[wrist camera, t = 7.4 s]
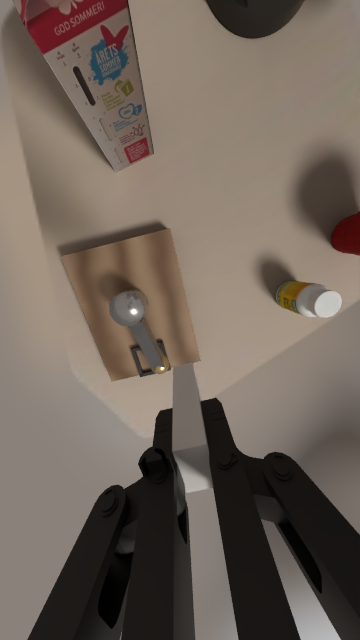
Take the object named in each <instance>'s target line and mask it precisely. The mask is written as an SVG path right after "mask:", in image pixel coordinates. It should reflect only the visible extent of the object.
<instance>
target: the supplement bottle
mask: <svg viewBox="0 0 360 640" xmlns="http://www.w3.org/2000/svg"><path fill="white" fill-rule="evenodd" d="M276 301H277V303H278V304H279V305H280V306H281V307H283V308H285V309H288V310H290V311H293V312H295V313H298V314H301V315H303V316H306V317H316V316H319V317H322V318H327V317H330V316H332V315H334V314H335V313H336V312H337V311H338V310H339V308H340V306H341V303H342V300H341V296H340V295H339V294H338V293H337V292H335V291H332V290H329V289H328V288H327V287H326V286H324V285H321V284H315V283H305V282H297V281H289V282H286V283H284V284H282V285H281V286H280V287H279V289H278V290H277V293H276Z"/></svg>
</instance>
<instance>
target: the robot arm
mask: <svg viewBox="0 0 360 640" xmlns="http://www.w3.org/2000/svg"><path fill="white" fill-rule="evenodd" d="M207 1H208V3H209V5H210V7H211V9H212V11H213V12H214V14H215V15H216V17H217V18H218V19H219V21H220V22H221V23H222V24H223V25H224V26H225V27H226V28H228V29H229V30H230V31H232V32H233V33H235V34H237V35H240V36H243V37H247V38H261V37H265V36H268V35H271V34H273V33H275V32H276V31H278V30H279V29H281V28H282V27H283V26H285V25H286V24H287V23H288V22H289V21H290V20H291V19H292V18H293V16H294V15H295V14H296V13H297V11H298V10H299V8H300V7H301V5H302V3H303V2H304V0H207ZM138 465H139V467H140V469H141V472H142V474H143V477H142V478H141V479H140V480H138V481H137V482H136V483H134V484H132V485H130V486H129V487H127V488H125V489H123V487H122V486H120V485H113V486H111V487H109V488H107V489H106V490H105V491H104V492H103V493H102V494H101V495H100V496H99V498H98V499H97V501H96V503H95V505H94V507H93V509H92V511H91V512H90V515H89V517H88V519H87V521H86V523H85V525H84V527H83V529H82V531H81V533H80V535H79V537H78V539H77V541H76V543H75V545H74V547H73V549H72V551H71V553H70V555H69V557H68V559H67V561H66V563H65V565H64V567H63V569H62V571H61V573H60V575H59V577H58V579H57V581H56V583H55V585H54V587H53V589H52V591H51V593H50V595H49V597H48V599H47V601H46V603H45V605H44V607H43V610H42V611H41V613H40V615H39V618H38V620H37V622H36V623H35V626H34V627H33V629H32V632H31V634H30V636H29V638H28V640H119V639H120V636H121V632H122V637H121V640H195V628H194V610H193V591H192V573H191V555H190V538H189V537H190V536H189V518H188V507H187V503H186V500H185V489H186V492H187V493H188V492H193V491H198V490H204V489H209V488H213V489H214V495H215V501H216V507H217V513H218V518H219V525H220V531H221V536H222V543H223V549H224V554H225V560H226V567H227V573H228V578H229V584H230V591H231V597H232V603H233V608H234V614H235V621H236V627H237V632H238V639H239V640H301V639H300V636H299V633H298V631H297V627H296V624H295V621H294V618H293V615H292V613H291V609H290V606H289V603H288V600H287V597H286V595H285V591H284V588H283V585H282V582H281V579H280V576H279V573H278V570H277V567H276V564H275V561H274V558H273V555H272V552H271V549H270V546H269V543H268V540H267V537H266V534H265V531H264V528H263V525H262V522H261V519H263V520H267V521H271V522H274V524H275V526H276V527H277V529H278V531H279V533H280V534H281V536H282V538H283V539H284V541H285V543H286V545H287V546H288V548H289V550H290V551H291V553H292V555H293V556H294V559H295V560H296V562H297V564H298V566H299V567H300V569H301V571H302V572H303V574H304V576H305V578H306V579H307V581H308V583H309V585H310V586H311V588H312V590H313V592H314V593H315V595H316V597H317V598H318V600H319V602H320V604H321V605H322V607H323V609H324V611H325V612H326V614H327V616H328V618H329V619H330V621H331V623H332V625H333V626H334V628H335V630H336V631H337V633H338V635H339V637H340V639H341V640H360V535H359V534H358V533H357V531H356V530H355V529H354V528H353V527H352V526H351V525H350V524H349V522H348V521H347V520H346V519H345V518H344V517H343V515H342V514H341V513H340V512H339V511H338V510H337V509H336V507H335V506H334V505H333V504H332V503H331V502H330V501H329V499H328V498H327V497H326V496H325V495H324V494H323V493H322V491H321V490H320V489H319V488H318V487H317V486H316V485H315V484H314V482H313V481H312V480H311V479H310V478H309V477H308V475H307V474H306V473H305V472H304V471H303V470H302V469H301V467H300V466H299V465H298V464H297V463H296V462H295V461H294V460H293V459H292V458H291V457H289V456H287V455H285V454H283V453H279V452H273V453H269V454H268V455H266V456H265V457H264V459H259V458H253V457H249V456H247V455H245V454H243V453H242V452H240V451H239V450H238V448H237V447H236V445H235V443H234V440H233V437H232V434H231V431H230V428H229V425H228V422H227V419H226V416H225V413H224V410H223V407H222V404H221V402H220V401H219V400H218V399H217V398H213V399H209V400H204V401H202V399H201V394H200V390H199V386H198V382H197V378H196V374H195V370H194V366H193V362H191V363H187V364H183V365H178V366H174V367H173V408H170V409H166V410H161V411H160V412H159V414H158V416H157V417H156V423H155V431H154V439H153V447H150V448H149V449H147V450H146V451H145V452H144V453H143V454H142V456H141V457H140V460H139V463H138ZM122 628H123V629H122Z"/></svg>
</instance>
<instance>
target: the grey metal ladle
mask: <svg viewBox="0 0 360 640" xmlns="http://www.w3.org/2000/svg"><path fill="white" fill-rule="evenodd" d="M147 308H148V300H147V297H146V296H145V294H144V293H143V292H141V291H140V290H137V289H128V290H126V291H124V292H122V293H120V294H118V295H116V296H115V297H114V298H113V299H112V300H111V302H110V305H109V313H110V315H111V317H112V319H113V320H114V321H115V322H116V323H118V324H119V325H122V326H129V328H130V329H131V331H132V333H133V335H134V337H135V338H136V340H137V342H138V344H139V346H140V348H141V349H142V351H143V353H144V355H145V357H146V359H147V360H148V362H149V364H150V367H151V369H152V371H153V372H154V373H156V374H163V373H165V372H166V371H167V370H168V367H169V361H168V359H167V358H166V357H165V356H164V354H163V352H162V351H161V349H160V347H159V345H158V343H157V341H156V339H155V337H154V335H153V333H152V331H151V329H150V327H149V325H148V323H147V321H146V319H145V317H143V316H144V314H145V312H146V310H147Z"/></svg>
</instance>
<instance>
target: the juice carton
mask: <svg viewBox="0 0 360 640" xmlns="http://www.w3.org/2000/svg"><path fill="white" fill-rule="evenodd" d="M13 2H14V4H15V6H16V9H17V11H18V13H19V15H20V17H21V19H22V21H23V24H24V25H25V27H26V28H27V30H28V32H29V33H30V35H31V37H32V38H33V40H34V41H35V43H36V45H37V46H38V48H39V49H40V51H41V53H42V54H43V56H44V58H45V59H46V61H47V62H48V64H49V66H50V67H51V69H52V70H53V72H54V74H55V75H56V77H57V78H58V80H59V82H60V83H61V85H62V87H63V88H64V90H65V91H66V93H67V95H68V96H69V98H70V99H71V101H72V103H73V104H74V106H75V108H76V109H77V111H78V112H79V114H80V116H81V117H82V119H83V120H84V122H85V124H86V125H87V127H88V129H89V130H90V132H91V133H92V135H93V137H94V138H95V140H96V141H97V143H98V145H99V146H100V148H101V149H102V151H103V153H104V154H105V156H106V157H107V159H108V161H109V162H110V164H111V166H112V167H113V169H114V170H115V172H118V171H120V170H122V169H124V168H126V167H128V166H130V165H132V164H134V163H136V162H138V161H140V160H142V159H144V158H146V157H148V156H150V155H152V154H154V150H153V144H152V138H151V133H150V127H149V121H148V115H147V109H146V103H145V98H144V92H143V86H142V80H141V74H140V68H139V63H138V57H137V51H136V45H135V39H134V33H133V28H132V22H131V16H130V10H129V4H128V0H13Z"/></svg>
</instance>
